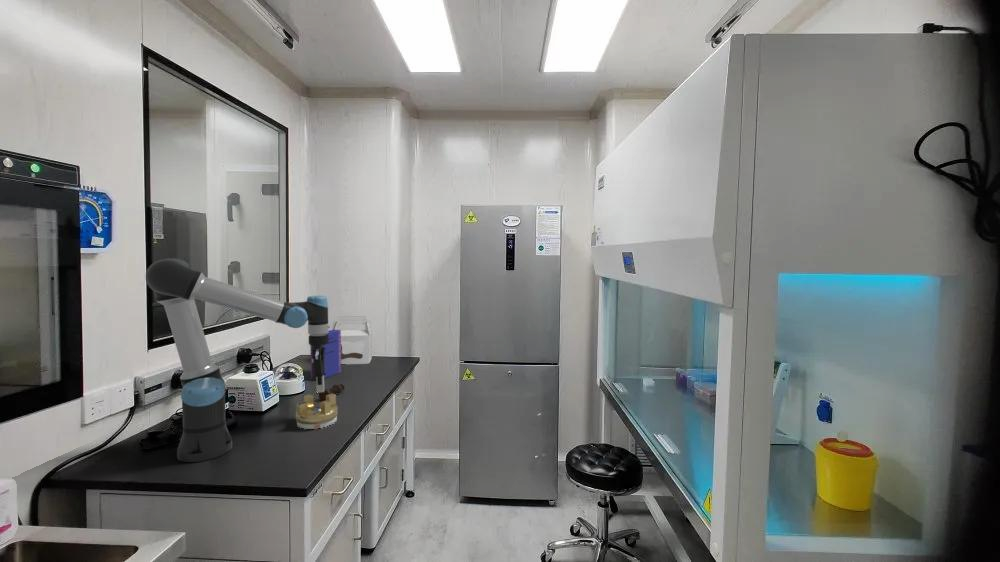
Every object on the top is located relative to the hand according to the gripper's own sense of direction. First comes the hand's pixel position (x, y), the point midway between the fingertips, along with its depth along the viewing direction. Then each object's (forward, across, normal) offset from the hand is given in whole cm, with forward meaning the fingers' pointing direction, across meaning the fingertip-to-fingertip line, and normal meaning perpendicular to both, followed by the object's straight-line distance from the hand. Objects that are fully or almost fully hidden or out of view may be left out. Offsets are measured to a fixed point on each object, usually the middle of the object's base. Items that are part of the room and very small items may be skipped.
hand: (320, 391), depth 174 cm
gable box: (+11, +91, -3) cm, 92 cm away
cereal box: (+11, +61, +7) cm, 62 cm away
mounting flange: (+10, -6, 0) cm, 12 cm away
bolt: (+11, +26, -1) cm, 28 cm away
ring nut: (+8, -6, 0) cm, 10 cm away
